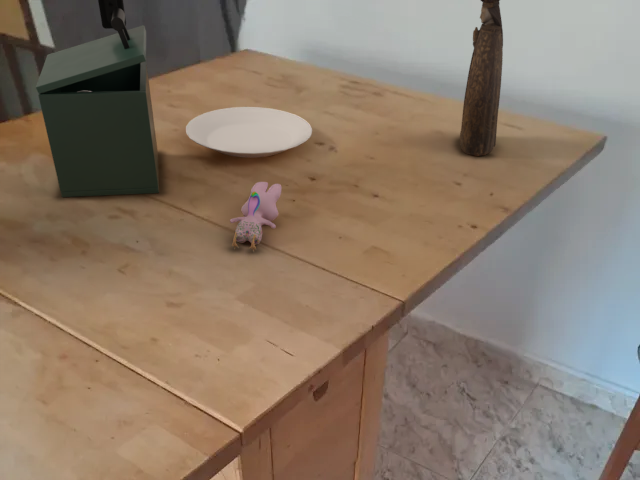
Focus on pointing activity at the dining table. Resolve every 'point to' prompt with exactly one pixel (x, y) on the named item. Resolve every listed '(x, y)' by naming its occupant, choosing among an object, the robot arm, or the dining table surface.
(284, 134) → the plate
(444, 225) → the dining table surface
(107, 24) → the robot arm
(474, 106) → the statue
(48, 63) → the bin lid
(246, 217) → the rabbit figure
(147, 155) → the waste bin
